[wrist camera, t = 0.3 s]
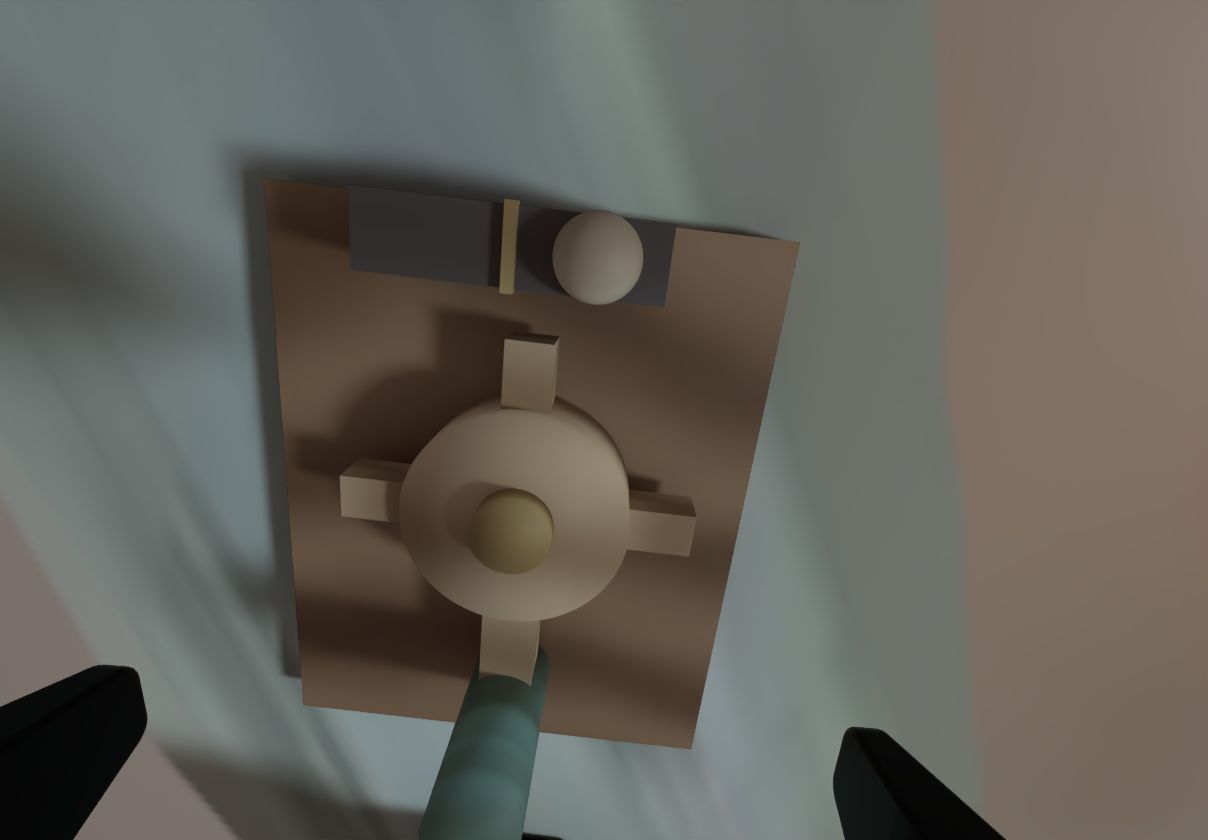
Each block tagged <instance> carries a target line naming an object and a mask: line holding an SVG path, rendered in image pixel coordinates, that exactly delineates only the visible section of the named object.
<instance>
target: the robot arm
mask: <svg viewBox="0 0 1208 840" xmlns="http://www.w3.org/2000/svg"><path fill="white" fill-rule="evenodd" d="M146 725H147V712H146V707H145V702H144V697H143V693H142V688H141V683H140V678H139V675H138V673H137V671H136V670H135V669H134V668H131V667H127V666H115V665H97V666H93V667H91V668H88V669H86V670H83V671H81V672H79V673H77V674H75V675H72V676H70V677H67V678H65V679H63V680H61V681H58V682H56V683H54V684H52V685H49V686H47V687H45V688H42V689H40V690H38V691H36V692H33V693H31V694H29V695H26V696H24V697H22V698H19V699H17V700H15V701H12V702H10V703H8V704H6V705H3V706H1V707H0V840H73V839H74V838H75V836H76V835H77V833H78V831H79V830H80V829H81V827H82V826H83V824H84V823H85V821H86V820H87V818H88V817H89V815H90V814H91V812H92V811H93V809H94V808H95V806H96V805H97V804H98V802H99V801H100V799H101V798H102V796H103V795H104V793H105V792H106V790H107V789H108V787H109V786H110V784H111V783H112V781H113V780H114V778H115V777H116V775H117V774H118V773H119V771H120V769H121V768H122V766H123V765H124V763H125V762H126V760H127V759H128V758H129V756H130V755H131V753H132V752H133V750H134V749H135V747H136V746H137V744H138V743H139V741H140V740H141V738H142V736H143V734H144V732H145V728H146ZM833 790H834V797H835V801H836V805H837V809H838V813H839V817H840V822H841V826H842V830H843V834H844V838H845V840H1006V839H1005V838H1004V837H1002V836H1001V835H1000V834H999V833H998V832H997V831H996V830H995V829H994V828H992V827H991V826H990V825H989V824H988V823H987V822H986V821H985V820H984V819H982V818H981V817H980V816H979V815H978V814H977V813H976V812H975V811H973V810H972V809H971V808H970V807H969V806H968V805H967V804H966V803H964V802H963V801H962V800H961V799H960V798H959V797H958V796H957V795H955V794H954V793H953V792H952V791H951V790H950V789H949V788H948V787H946V786H945V785H944V784H943V783H942V782H941V781H940V780H939V779H937V778H936V777H935V776H934V775H933V774H932V773H931V772H930V771H928V770H927V769H926V768H925V767H924V766H923V765H922V764H921V763H919V762H918V761H917V760H916V759H915V758H914V757H913V756H912V755H911V754H909V753H908V752H907V751H906V750H905V749H904V748H903V747H902V746H900V745H899V744H898V743H897V742H896V741H895V740H894V739H893V738H891V737H890V736H889V735H888V734H887V733H885V732H884V731H882V730H879V729H874V728H863V727H850V728H848V729H847V730H846V732H845V734H844V736H843V740H842V744H841V748H840V752H839V756H838V760H837V764H836V767H835V771H834V776H833ZM521 840H530V839H521Z"/></svg>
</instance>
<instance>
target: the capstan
mask: <svg viewBox="0 0 1208 840" xmlns="http://www.w3.org/2000/svg"><path fill="white" fill-rule="evenodd" d="M559 340H560V336H552V335H544V334H536V333H527V332H519V331H513V332H512V333H511V334H510V335H509V336H508V337H506V338H505V342H504V359H503V377H502V394H498V395H493V396H490V397H487V398H484V399H481V400H479V401H477V402H475V403H473V404H471V405H469V406H467V407H466V408H464V409H463V410H462V411H460V412H459V413H457V414H456V415H455V416H454V417H453V418H452V419H451V420H450V421H449V422H448V423H447V424H446V425H445V426H444V427H443V428H442V429H441V430H440V431H439V432H438V433H437V435H436V436H435V437H434V438H433V439H432V440H431V441H430V442H429V443H428V444H427V445H426V446H425V447H424V448H423V450H422V451H421V452H420V453H419V455H418V456H417V457H416V459H415V460H414V461H413V463H412V464H405V463H397V462H388V461H379V460H371V459H362V458H360V459H359V460H358V461H356V462H355V463H354V464H353V465H352V466H351V467H349V468H348V469H347V470H346V471H345V472H343V473H342V474H341V475H340V493H341V516H343V517H352V518H361V519H369V520H378V521H386V522H395V523H400V528H401V533H402V537H403V540H404V543H405V546H406V548H407V551H408V553H409V555H410V557H411V558H412V560H413V562H414V564H415V565H416V567H417V568H418V570H419V571H420V572H421V574H422V575H423V576H424V577H425V578H426V579H427V581H428V582H429V583H430V584H431V585H432V586H433V587H434V588H436V589H437V590H438V591H439V592H440V593H441V594H443V595H444V596H445V597H447V598H448V599H450V600H451V601H453V602H454V603H456V604H458V605H460V606H462V607H464V608H465V609H468V610H470V611H472V612H475V613H477V614H480V615H482V630H481V649H480V653H479V656H478V659H477V662H476V665H475V667H474V670H473V673H472V676H471V679H470V682H469V685H468V688H467V691H466V694H465V697H464V700H463V703H462V705H461V708H460V711H459V714H458V717H457V720H456V723H455V726H454V729H453V732H452V735H451V738H450V741H449V744H448V746H447V749H446V752H445V755H444V758H443V761H442V764H441V767H440V770H439V773H438V776H437V779H436V782H435V785H434V787H433V790H432V793H431V796H430V799H429V802H428V805H427V808H426V811H425V814H424V817H423V820H422V823H421V826H420V829H419V839H420V840H521V839H522V833H523V827H524V821H525V815H526V809H527V803H528V797H529V791H530V785H531V779H532V773H533V767H534V761H535V755H536V749H537V743H538V737H539V731H540V725H541V719H542V713H543V707H544V701H545V695H546V689H547V683H548V677H549V671H550V664H549V660H548V657H547V655H546V653H545V652H544V650H543V649H542V648H541V647H540V646H539V645H538V641H539V630H540V620H544V619H550V618H553V617H557V616H560V615H563V614H566V613H568V612H571V611H573V610H575V609H577V608H579V607H581V606H582V605H584V604H586V603H588V602H589V601H590V600H591V599H593V598H594V597H595V596H597V595H598V594H599V593H600V592H601V591H602V590H603V589H604V588H605V587H606V586H607V585H608V584H609V582H610V581H611V580H612V578H613V577H614V576H615V574H616V573H617V571H618V569H619V567H620V565H621V564H622V561H623V559H624V556H625V553H626V550H636V551H644V552H653V553H662V554H670V555H679V556H687V557H689V555H690V550H691V544H692V539H693V534H694V528H695V523H696V518H697V517H696V513H695V509H694V506H693V502H692V498H691V497H687V496H679V495H670V494H662V493H653V492H644V491H636V490H629V481H628V474H627V470H626V465H625V463H624V460H623V457H622V455H621V452H620V450H619V449H618V447H617V445H616V443H615V441H614V440H613V439H612V437H611V436H610V435H609V433H608V432H607V431H606V430H605V428H604V427H603V426H602V425H601V424H600V423H599V422H598V421H597V420H595V419H594V418H593V417H592V416H591V415H589V414H588V413H587V412H585V411H584V410H582V409H580V408H579V407H577V406H576V405H574V404H571V403H569V402H567V401H565V400H563V399H560V398H557V397H555V385H556V374H557V363H558V352H559Z"/></svg>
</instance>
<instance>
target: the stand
mask: <svg viewBox="0 0 1208 840" xmlns="http://www.w3.org/2000/svg"><path fill="white" fill-rule="evenodd" d="M264 184H265V198H266V211H267V224H268V238H269V251H270V265H271V278H272V291H273V305H274V318H275V332H276V345H277V358H278V372H279V385H280V398H281V412H282V425H283V439H284V452H285V465H286V479H287V492H288V506H289V519H290V532H291V546H292V559H293V573H294V586H295V599H296V613H297V626H298V640H299V653H300V666H301V680H302V693H303V705H307V706H316V707H325V708H333V709H342V710H351V711H360V712H368V713H377V714H386V715H395V716H403V717H412V718H421V719H430V720H439V721H447V722H456V720H457V717H458V714H459V711H460V708H461V705H462V703H463V700H464V697H465V694H466V691H467V688H468V685H469V682H470V679H471V676H472V673H473V670H474V667H475V665H476V662H477V659H478V656H479V653H480V649H481V630H482V615H480V614H477V613H475V612H472V611H470V610H468V609H465V608H464V607H462V606H460V605H458V604H456V603H454V602H453V601H451V600H450V599H448V598H447V597H445V596H444V595H443V594H441V593H440V592H439V591H438V590H437V589H436V588H434V587H433V586H432V585H431V584H430V583H429V582H428V581H427V579H426V578H425V577H424V576H423V575H422V574H421V572H420V571H419V570H418V568H417V567H416V565H415V564H414V562H413V560H412V558H411V557H410V555H409V553H408V551H407V548H406V546H405V543H404V540H403V537H402V533H401V528H400V523H395V522H386V521H378V520H369V519H361V518H352V517H343V516H341V493H340V475H341V474H342V473H343V472H345V471H346V470H347V469H348V468H349V467H351V466H352V465H353V464H354V463H355V462H356V461H358V460H359V459H360V458H362V459H371V460H379V461H388V462H397V463H405V464H412V463H413V461H414V460H415V459H416V457H417V456H418V455H419V453H420V452H421V451H422V450H423V448H424V447H425V446H426V445H427V444H428V443H429V442H430V441H431V440H432V439H433V438H434V437H435V436H436V435H437V433H438V432H439V431H440V430H441V429H442V428H443V427H444V426H445V425H446V424H447V423H448V422H449V421H450V420H451V419H452V418H453V417H454V416H455V415H456V414H457V413H459V412H460V411H462V410H463V409H464V408H466V407H467V406H469V405H471V404H473V403H475V402H477V401H479V400H481V399H484V398H487V397H490V396H493V395H498V394H502V377H503V359H504V342H505V338H506V337H508V336H509V335H510V334H511V333H512V332H513V331H519V332H527V333H536V334H544V335H552V336H560V340H559V352H558V363H557V374H556V385H555V397H557V398H560V399H563V400H565V401H567V402H569V403H571V404H574V405H576V406H577V407H579V408H580V409H582V410H584V411H585V412H587V413H588V414H589V415H591V416H592V417H593V418H594V419H595V420H597V421H598V422H599V423H600V424H601V425H602V426H603V427H604V428H605V430H606V431H607V432H608V433H609V435H610V436H611V437H612V439H613V440H614V441H615V443H616V445H617V447H618V449H619V450H620V452H621V455H622V457H623V460H624V463H625V465H626V470H627V474H628V481H629V490H636V491H644V492H653V493H662V494H670V495H679V496H687V497H691V498H692V502H693V506H694V509H695V513H696V517H697V518H696V523H695V528H694V534H693V539H692V544H691V550H690V555H689V557H687V556H679V555H670V554H662V553H653V552H644V551H636V550H626V553H625V556H624V559H623V561H622V564H621V565H620V567H619V569H618V571H617V573H616V574H615V576H614V577H613V578H612V580H611V581H610V582H609V584H608V585H607V586H606V587H605V588H604V589H603V590H602V591H601V592H600V593H599V594H598V595H597V596H595V597H594V598H593V599H591V600H590V601H589V602H588V603H586V604H584V605H582V606H581V607H579V608H577V609H575V610H573V611H571V612H568V613H566V614H563V615H560V616H557V617H553V618H550V619H544V620H540V630H539V641H538V645H539V646H540V647H541V648H542V649H543V650H544V652H545V653H546V655H547V657H548V660H549V664H550V671H549V677H548V683H547V689H546V695H545V701H544V707H543V713H542V719H541V725H540V731H539V732H544V733H553V734H561V735H570V736H579V737H588V738H596V739H605V740H614V741H623V742H632V743H640V744H649V745H658V746H667V747H675V748H684V749H691V747H692V742H693V737H694V733H695V728H696V723H697V719H698V714H699V709H700V705H701V700H702V695H703V691H704V686H705V682H706V677H707V672H708V668H709V663H710V658H711V654H712V649H713V644H714V640H715V635H716V630H717V626H718V621H719V616H720V612H721V607H722V603H723V598H724V593H725V589H726V584H727V579H728V575H729V570H730V565H731V561H732V556H733V551H734V547H735V542H736V538H737V533H738V528H739V524H740V519H741V514H742V510H743V505H744V500H745V496H746V491H747V486H748V482H749V477H750V472H751V468H752V463H753V459H754V454H755V449H756V445H757V440H758V435H759V431H760V426H761V421H762V417H763V412H764V407H765V403H766V398H767V394H768V389H769V384H770V380H771V375H772V370H773V366H774V361H775V356H776V352H777V347H778V342H779V338H780V333H781V328H782V324H783V319H784V315H785V310H786V305H787V301H788V296H789V291H790V287H791V282H792V277H793V273H794V268H795V263H796V259H797V254H798V250H799V245H800V242H793V241H785V240H777V239H768V238H760V237H752V236H743V235H735V234H727V233H718V232H710V231H702V230H693V229H685V228H677V227H676V226H677V224H670V223H662V222H654V221H645V220H637V219H629V218H622V217H620V216H619V215H617V214H614V213H611V212H608V211H603V210H594V211H588V212H584V213H579V212H570V211H562V210H554V209H545V208H537V207H529V206H520V201H518V200H511V199H504V203H495V202H487V201H479V200H470V199H462V198H454V197H445V196H437V195H429V194H420V193H412V192H404V191H395V190H387V189H379V188H371V187H362V186H354V185H348V188H343V187H335V186H327V185H318V184H310V183H302V182H294V181H285V180H277V179H269V178H264Z"/></svg>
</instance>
